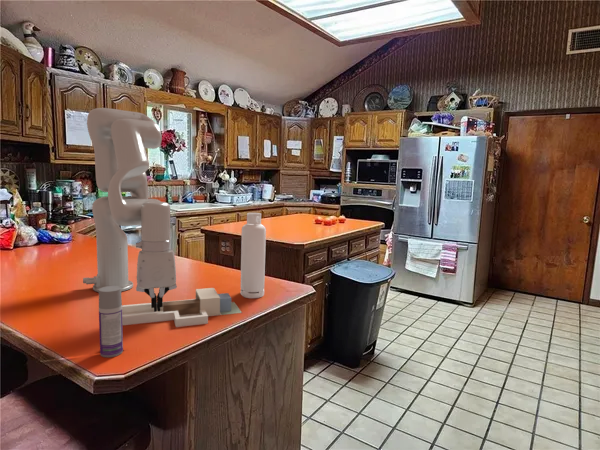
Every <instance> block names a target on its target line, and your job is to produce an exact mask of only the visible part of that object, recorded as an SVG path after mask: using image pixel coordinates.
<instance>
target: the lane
mask: <svg viewBox="0 0 600 450" xmlns="http://www.w3.org/2000/svg"><path fill="white" fill-rule="evenodd" d="M218 294H219V293H218V292H217V290H216V289H215V288H214V287H207V288H206V287H205V288H195V298H191V299H189V300H195V299H200V313H198V314H187V315H179V312H178V311H169V312H163V307H160V311H156V312H154V308H151V302H147V303H146V302H143V303H136V304H135V303H134V304H133V303H132V304H124V305H123V304H122V326H129V325H131V326H132V325H138V324H139V325H140V324H148V323H149V324H150V323H158V322H166V321H167V322H168V321H174V326H175V328H181V327H187V326H189V327H190V326H198V325H207V324H209V317H214V316H224V315H225V316H226V315H233V314H243V312H242V311H241V309H240V308H239V306H238V305H237V304H236V303H235V301H231V311H226V312H220V297H219V295H218ZM183 300H184V299H183ZM183 300H182V299H181V300H179V299H178V301H183ZM170 301H171V300H169V301H168V300H166V302H170Z"/></svg>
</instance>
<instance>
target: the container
mask: <svg viewBox="0 0 600 450" xmlns="http://www.w3.org/2000/svg"><path fill="white" fill-rule="evenodd" d="M122 300H123V299H122V291H121V287H119V286H106V287H102V288H100V289H99V292H98V327H99V332H98V333H99V354H100V355H99V356H101V357H103V358H114V357H117V356H120V355H122V354H123V352H124V340H123V339H124V337H123V336H124V335H123V325H122V305H123V303H122V302H123V301H122Z"/></svg>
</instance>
